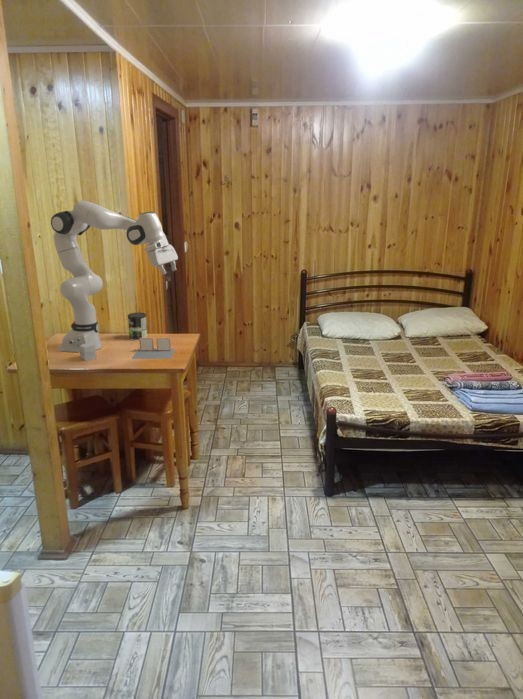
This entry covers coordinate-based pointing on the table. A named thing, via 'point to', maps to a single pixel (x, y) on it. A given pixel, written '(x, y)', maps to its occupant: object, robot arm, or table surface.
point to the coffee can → (137, 326)
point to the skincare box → (87, 351)
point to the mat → (153, 354)
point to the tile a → (146, 344)
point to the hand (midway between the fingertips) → (169, 272)
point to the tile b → (163, 344)
